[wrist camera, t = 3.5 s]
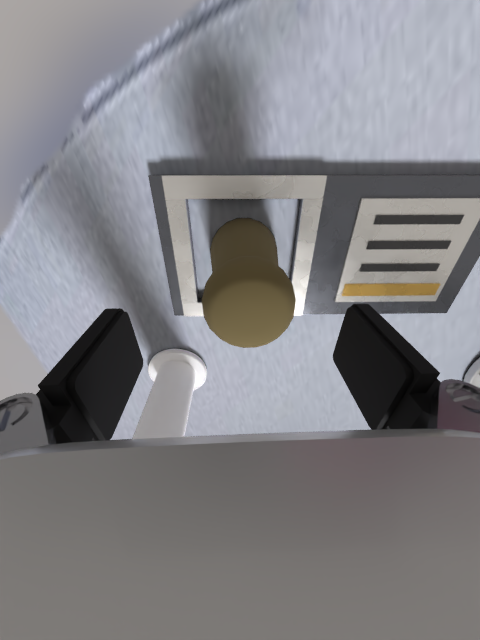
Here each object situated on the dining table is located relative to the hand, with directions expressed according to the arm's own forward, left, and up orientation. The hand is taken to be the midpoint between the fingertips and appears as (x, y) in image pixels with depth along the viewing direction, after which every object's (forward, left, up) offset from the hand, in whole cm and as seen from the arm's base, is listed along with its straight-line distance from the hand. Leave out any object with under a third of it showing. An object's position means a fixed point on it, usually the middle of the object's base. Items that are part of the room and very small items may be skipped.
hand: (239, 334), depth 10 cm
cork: (-1, 0, -13) cm, 13 cm away
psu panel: (-8, 0, -12) cm, 15 cm away
